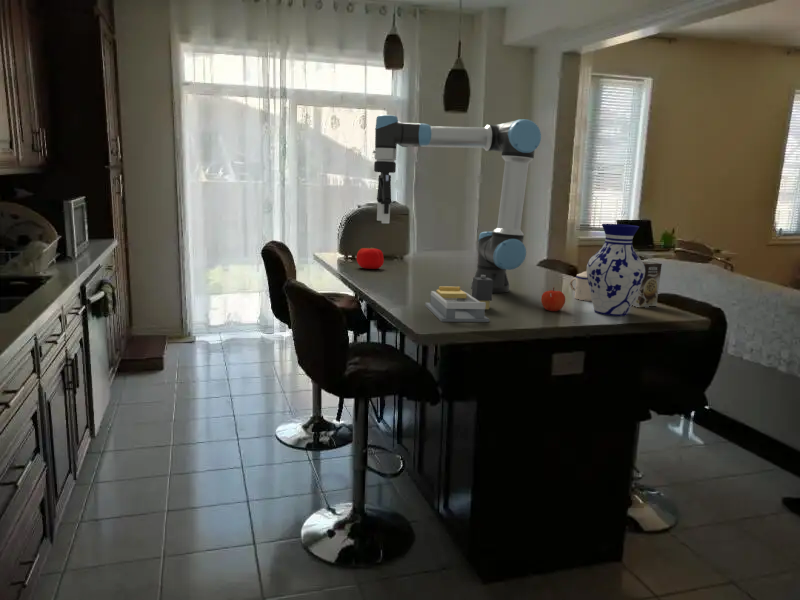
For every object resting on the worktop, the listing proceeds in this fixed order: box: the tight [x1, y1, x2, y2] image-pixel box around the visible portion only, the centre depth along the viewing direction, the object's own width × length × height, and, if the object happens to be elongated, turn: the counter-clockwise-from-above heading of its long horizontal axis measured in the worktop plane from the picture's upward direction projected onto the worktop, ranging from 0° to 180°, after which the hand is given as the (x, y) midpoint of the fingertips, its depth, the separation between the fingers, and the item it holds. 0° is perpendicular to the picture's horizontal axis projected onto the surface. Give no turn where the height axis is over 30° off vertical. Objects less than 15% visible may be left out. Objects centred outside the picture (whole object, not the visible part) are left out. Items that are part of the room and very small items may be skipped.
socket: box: [424, 290, 490, 323], centre depth 206 cm, size 15×24×6 cm, turn 10°
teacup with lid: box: [569, 269, 592, 302], centre depth 244 cm, size 12×9×12 cm
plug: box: [471, 275, 493, 310], centre depth 217 cm, size 5×5×11 cm
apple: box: [540, 287, 566, 312], centre depth 219 cm, size 8×8×8 cm
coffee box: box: [632, 261, 663, 308], centre depth 234 cm, size 9×6×16 cm
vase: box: [586, 223, 645, 317], centre depth 217 cm, size 19×19×30 cm
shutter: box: [435, 285, 467, 299], centre depth 212 cm, size 9×7×3 cm
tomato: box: [356, 246, 385, 270], centre depth 298 cm, size 11×13×10 cm
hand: (382, 222), depth 228 cm, fingers open, 13 cm apart
